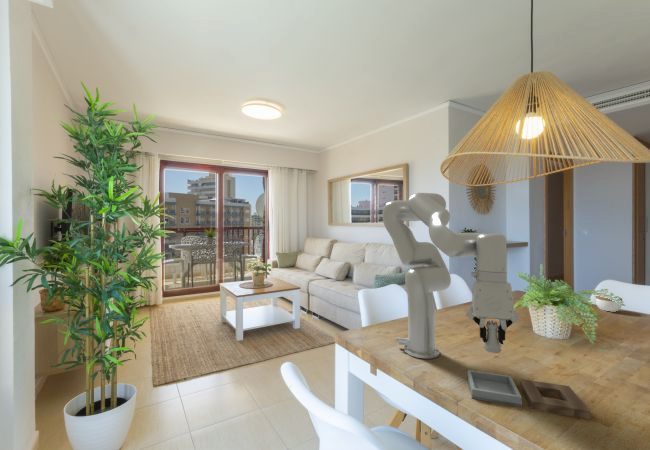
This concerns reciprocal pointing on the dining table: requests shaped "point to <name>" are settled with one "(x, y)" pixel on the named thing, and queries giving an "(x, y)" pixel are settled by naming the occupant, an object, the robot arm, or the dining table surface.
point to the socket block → (565, 406)
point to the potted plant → (607, 304)
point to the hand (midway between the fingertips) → (492, 340)
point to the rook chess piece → (492, 338)
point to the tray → (494, 388)
